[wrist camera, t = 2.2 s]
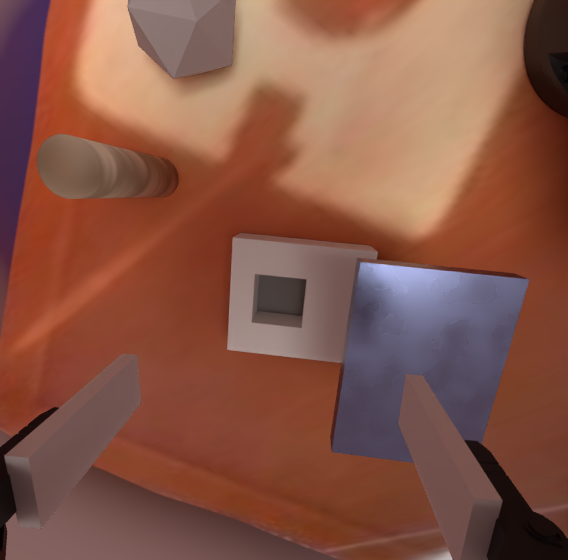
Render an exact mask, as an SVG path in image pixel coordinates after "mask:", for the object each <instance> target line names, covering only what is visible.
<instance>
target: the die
mask: <svg viewBox="0 0 568 560" xmlns="http://www.w3.org/2000/svg"><path fill="white" fill-rule="evenodd" d="M235 3H236V0H128V11H129V14H130V18H131V21H132V25H133V28H134V32H135V35H136V39H137V42H138V46H139V47H140V48H141V49H142V50H143V51H145V52H146V53H147V54H148V55H149V56H150V57H151V58H152V59H153V60H154V61H155V62H156V63H157V64H158V65H159V66H160V67H161V68H162V69H163V70H164V71H165V72H167V73H168V74H169V75H170V76H171V77H172V78H173V79H176V78H181V77H186V76H191V75H196V74H200V73H204V72H208V71H212V70H215V69H219V68H223V67H227V66H231V65H232V53H233V37H234V20H235Z"/></svg>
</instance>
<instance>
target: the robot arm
mask: <svg viewBox="0 0 568 560" xmlns="http://www.w3.org/2000/svg"><path fill="white" fill-rule="evenodd" d="M525 60H526V66H527V70H528V74H529V77H530V79H531V82H532V84H533V86H534V88H535V90H536V91H537V93H538V94H539V96H540V97H541V98H542V99H543V100H544V102H545V103H546V104H548V105H549V106H550V107H551V108H552V109H554V110H555V111H557V112H558V113H560V114H562V115H564V116H566V117H568V0H535V2H534V4H533V7H532V9H531V12H530V16H529V19H528V23H527V28H526V35H525ZM140 404H141V397H140V384H139V371H138V358H137V355H132V354H122V355H120V356H119V357H118V358H117V359H116V360H115V361H113V362H112V363H111V364H110V365H109V366H108V367H106V368H105V369H104V370H103V371H102V372H101V373H99V374H98V375H97V376H96V377H95V378H94V379H93V380H91V381H90V382H89V383H88V384H87V385H86V386H84V387H83V388H82V389H81V390H80V391H79V392H77V393H76V394H75V395H74V396H73V397H72V398H71V399H69V400H68V401H67V402H66V403H65V404H64V405H62V406H61V407H60V408H57V407H54V408H52V409H50V410H48V411H46V412H44V413H42V414H40V415H39V416H38V417H36V418H35V419H34V420H33V421H32V422H30V423H29V424H28V426H25V427H24V428H23V429H22V430H21V431H19V433H18V434H16V435H15V436H13V437H12V438H11V439H10V440H8V441H7V442H6V443H5V444H4V445H2V446H1V447H0V560H5V556H6V541H7V540H6V539H7V528H6V524H5V523H6V522H7V521H8V520H9V519H10V518H11V517H12V515H13V514H14V513H15V512H16V515H17V520H18V525H19V526H20V527H30V528H40V529H42V527H43V526H44V525H45V524H46V522H47V521H48V520H49V518H50V517H51V516H52V515H53V513H54V512H55V511H56V510H57V508H58V507H59V506H60V505H61V503H62V502H63V501H64V500H65V498H66V497H67V495H69V493H70V492H71V491H72V490H73V488H74V487H75V486H76V484H77V483H78V482H79V481H80V479H81V478H82V477H83V476H84V474H85V473H86V472H87V471H88V469H89V468H90V467H91V466H92V464H93V463H94V462H95V461H96V459H97V458H98V457H99V456H100V454H101V453H102V452H103V451H104V449H105V448H106V447H107V445H108V444H109V443H110V442H111V440H112V439H113V438H114V437H115V435H116V434H117V433H118V432H119V430H120V429H121V428H122V427H123V425H124V424H125V423H126V422H127V420H128V419H129V418H130V417H131V415H132V414H133V413H134V411H135V410H136V409H137V408H138V406H139V405H140ZM398 424H399V427H400V429H401V432H402V434H403V437H404V439H405V442H406V444H407V447H408V449H409V452H410V454H411V457H412V459H413V462H414V464H415V467H416V469H417V472H418V474H419V477H420V479H421V482H422V484H423V487H424V489H425V492H426V494H427V497H428V499H429V502H430V504H431V506H432V509H433V511H434V514H435V516H436V519H437V521H438V524H439V526H440V529H441V531H442V534H443V536H444V539H445V541H446V544H447V546H448V549H449V551H450V554H451V556H452V559H453V560H487V559H488V560H568V538H566V536H565V535H564V533H563V532H562V531H561V530H560V529H559V528H558V527H557V526H556V525H555V524H554V523H553V522H552V521H550V520H549V519H547V518H546V517H544V516H543V515H540V514H538V513H536V512H533V511H532V509H531V508H530V507H529V505H528V504H527V502H526V501H525V500H524V498H523V497H522V495H521V494H520V493H519V491H518V490H517V488H516V487H515V486H514V484H513V483H512V481H511V480H510V479H509V477H508V476H506V473H505V472H504V470H503V469H502V467H501V466H499V463H498V462H497V460H496V459H495V458H494V456H493V455H492V453H491V452H490V451H489V450H488V449H486V448H485V447H484V446H483V445H482V444H480V443H479V442H478V441H473V440H463V438H462V436H461V435H460V433H459V432H458V430H457V429H456V427H455V426H454V424H453V422H452V421H451V419H450V418H449V416H448V415H447V413H446V412H445V410H444V408H443V407H442V405H441V404H440V402H439V401H438V399H437V398H436V396H435V394H434V393H433V391H432V390H431V388H430V387H429V385H428V384H427V382H426V380H425V379H424V377H423V376H422V375H411V374H406V376H405V383H404V390H403V396H402V403H401V409H400V416H399V423H398Z"/></svg>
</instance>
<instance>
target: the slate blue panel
mask: <svg viewBox="0 0 568 560" xmlns="http://www.w3.org/2000/svg"><path fill="white" fill-rule="evenodd" d="M528 282H529V279H527V278H525V277H522V276H519V275H517V274H514V273H504V272H495V271H485V270H475V269H465V268H455V267H445V266H435V265H425V264H415V263H406V262H396V261H386V260H376V259H366V258H357V262H356V268H355V275H354V282H353V288H352V295H351V302H350V309H349V315H348V322H347V329H346V335H345V342H344V349H343V356H342V362H341V369H340V376H339V382H338V389H337V396H336V403H335V409H334V416H333V423H332V429H331V436H330V439H331V451H332V452H336V453H343V454H351V455H358V456H366V457H374V458H381V459H389V460H397V461H404V462H412V463H414V462H413V459H412V457H411V454H410V452H409V449H408V447H407V444H406V442H405V439H404V437H403V434H402V432H401V429H400V427H399V424H398V423H399V416H400V409H401V403H402V396H403V390H404V383H405V376H406V374H411V375H422V376H423V377H424V379H425V380H426V382H427V384H428V385H429V387H430V388H431V390H432V391H433V393H434V394H435V396H436V398H437V399H438V401H439V402H440V404H441V405H442V407H443V408H444V410H445V412H446V413H447V415H448V416H449V418H450V419H451V421H452V422H453V424H454V426H455V427H456V429H457V430H458V432H459V433H460V435H461V436H462V438H463V440H473V441H478V442H479V443H480V444H482V440H483V437H484V433H485V430H486V426H487V423H488V420H489V416H490V413H491V409H492V406H493V402H494V399H495V396H496V392H497V389H498V385H499V382H500V378H501V375H502V372H503V368H504V365H505V361H506V358H507V354H508V351H509V348H510V344H511V341H512V337H513V334H514V330H515V327H516V324H517V320H518V317H519V313H520V310H521V306H522V303H523V300H524V296H525V293H526V289H527V286H528Z"/></svg>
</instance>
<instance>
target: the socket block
mask: <svg viewBox="0 0 568 560" xmlns="http://www.w3.org/2000/svg"><path fill="white" fill-rule="evenodd" d="M377 255H378V252H377V251H376V250H375V249H374V248H373V247H372V246H369V245H359V244H349V243H339V242H329V241H319V240H309V239H298V238H288V237H278V236H268V235H258V234H248V233H240V234H238V235H236V236H234V237H233V242H232V262H231V283H230V304H229V324H228V345H227V350H234V351H243V352H251V353H260V354H268V355H277V356H285V357H294V358H302V359H311V360H319V361H328V362H336V363H341V362H342V356H343V349H344V342H345V335H346V329H347V322H348V315H349V309H350V302H351V295H352V288H353V282H354V275H355V268H356V262H357V258H366V259H376V260H377Z"/></svg>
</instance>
